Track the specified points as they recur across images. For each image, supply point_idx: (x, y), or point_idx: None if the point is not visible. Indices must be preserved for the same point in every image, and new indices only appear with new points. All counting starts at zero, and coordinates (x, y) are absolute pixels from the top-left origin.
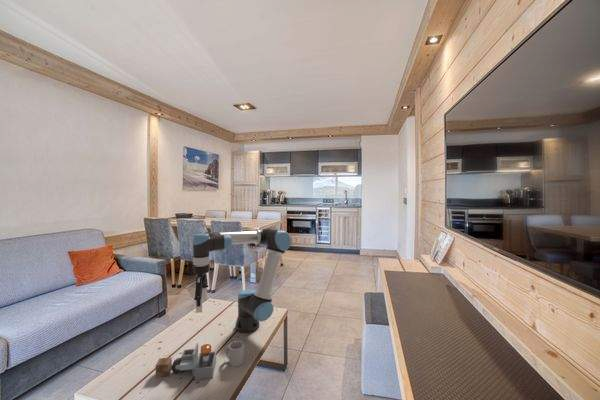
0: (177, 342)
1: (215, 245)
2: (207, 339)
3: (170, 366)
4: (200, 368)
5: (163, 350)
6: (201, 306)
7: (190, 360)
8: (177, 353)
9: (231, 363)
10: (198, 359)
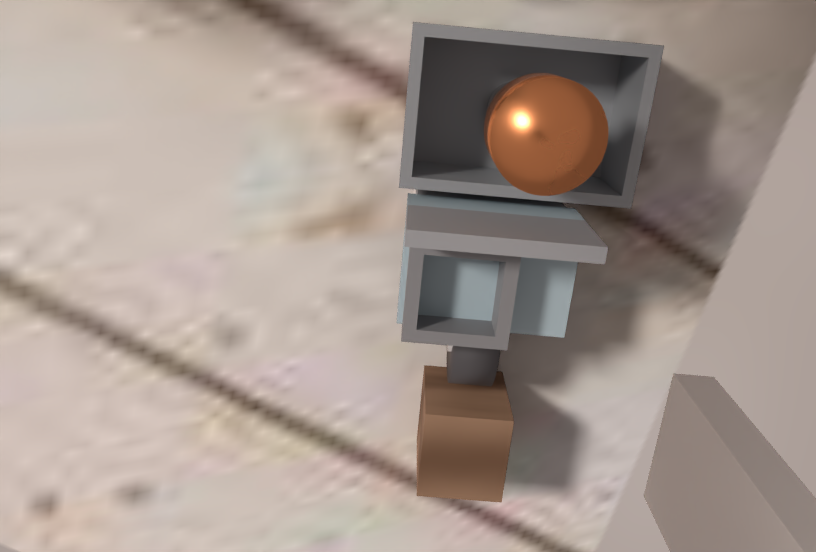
0: (69, 384)
1: None
2: (44, 131)
3: (457, 388)
4: (638, 158)
5: (171, 462)
6: (792, 479)
7: (524, 259)
8: (231, 359)
9: None
10: (498, 189)
